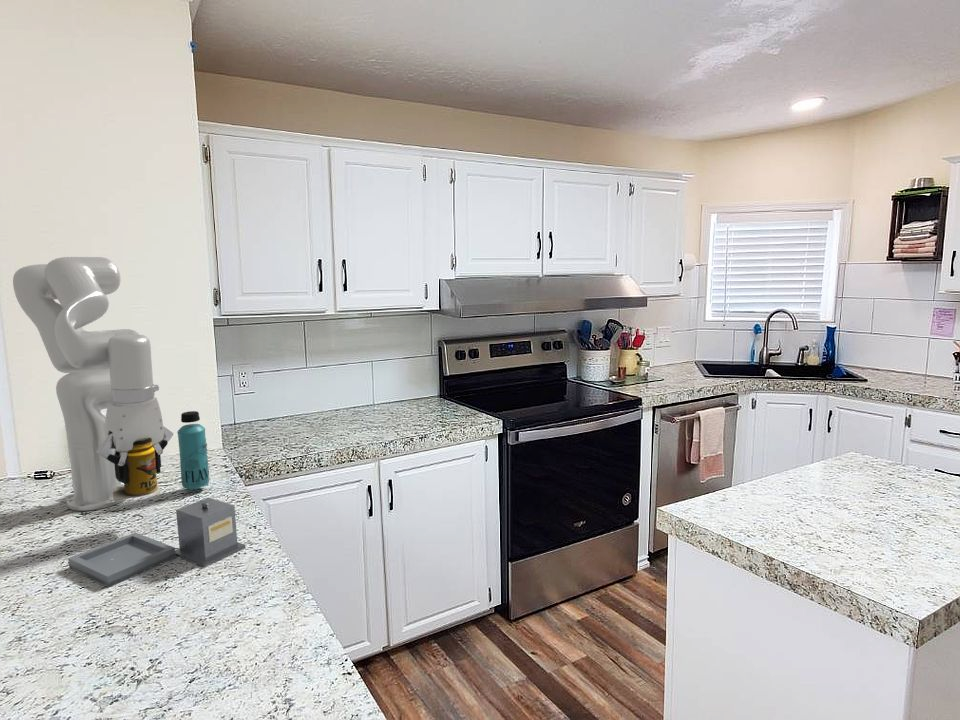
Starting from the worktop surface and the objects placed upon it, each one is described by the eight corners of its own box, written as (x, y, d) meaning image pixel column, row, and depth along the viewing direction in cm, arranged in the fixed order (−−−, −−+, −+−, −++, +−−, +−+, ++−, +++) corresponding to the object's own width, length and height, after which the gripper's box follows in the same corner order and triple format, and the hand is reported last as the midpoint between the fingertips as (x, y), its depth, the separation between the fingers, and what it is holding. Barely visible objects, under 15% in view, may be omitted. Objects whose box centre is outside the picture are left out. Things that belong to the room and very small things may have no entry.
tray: (69, 568, 110) (68, 558, 110) (136, 541, 120) (135, 532, 120) (108, 587, 103) (107, 576, 103) (175, 557, 114) (174, 547, 113)
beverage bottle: (182, 496, 144) (175, 416, 141) (181, 487, 150) (174, 410, 147) (211, 491, 147) (205, 413, 144) (209, 483, 153) (203, 407, 150)
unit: (172, 554, 115) (167, 506, 113) (213, 536, 123) (209, 491, 121) (204, 567, 110) (200, 517, 108) (245, 547, 117) (241, 500, 116)
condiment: (160, 494, 125) (157, 439, 123) (113, 502, 121) (109, 445, 118) (157, 481, 131) (153, 429, 129) (112, 489, 127) (108, 435, 124)
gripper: (162, 384, 132) (167, 461, 135) (78, 400, 117) (86, 485, 120) (183, 389, 128) (187, 468, 131) (98, 406, 113) (106, 494, 117)
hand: (139, 476), depth 126 cm, fingers closed on condiment, 6 cm apart
